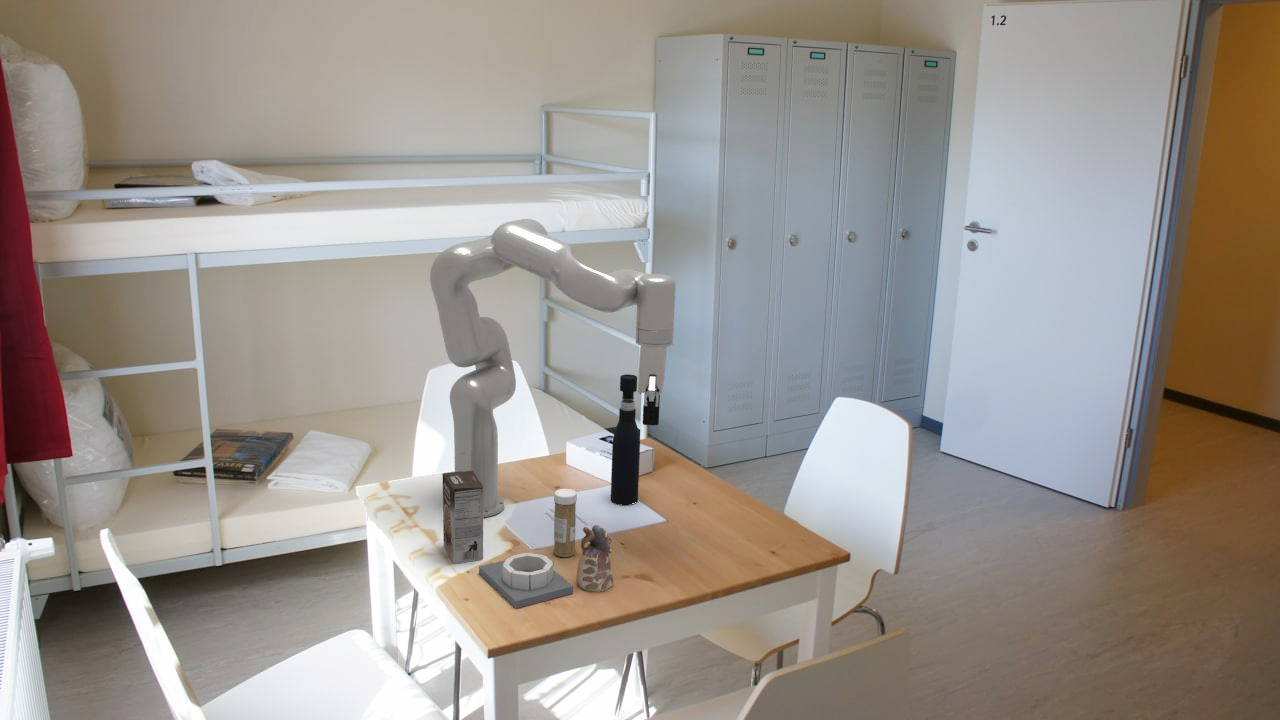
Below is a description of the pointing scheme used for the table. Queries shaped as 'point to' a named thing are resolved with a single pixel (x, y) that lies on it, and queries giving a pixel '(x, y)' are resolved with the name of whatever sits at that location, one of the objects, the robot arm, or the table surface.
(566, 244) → the robot arm
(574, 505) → the sprinkles bottle
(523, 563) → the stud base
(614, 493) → the wine bottle
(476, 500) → the coffee box
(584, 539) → the figurine
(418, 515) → the table surface
